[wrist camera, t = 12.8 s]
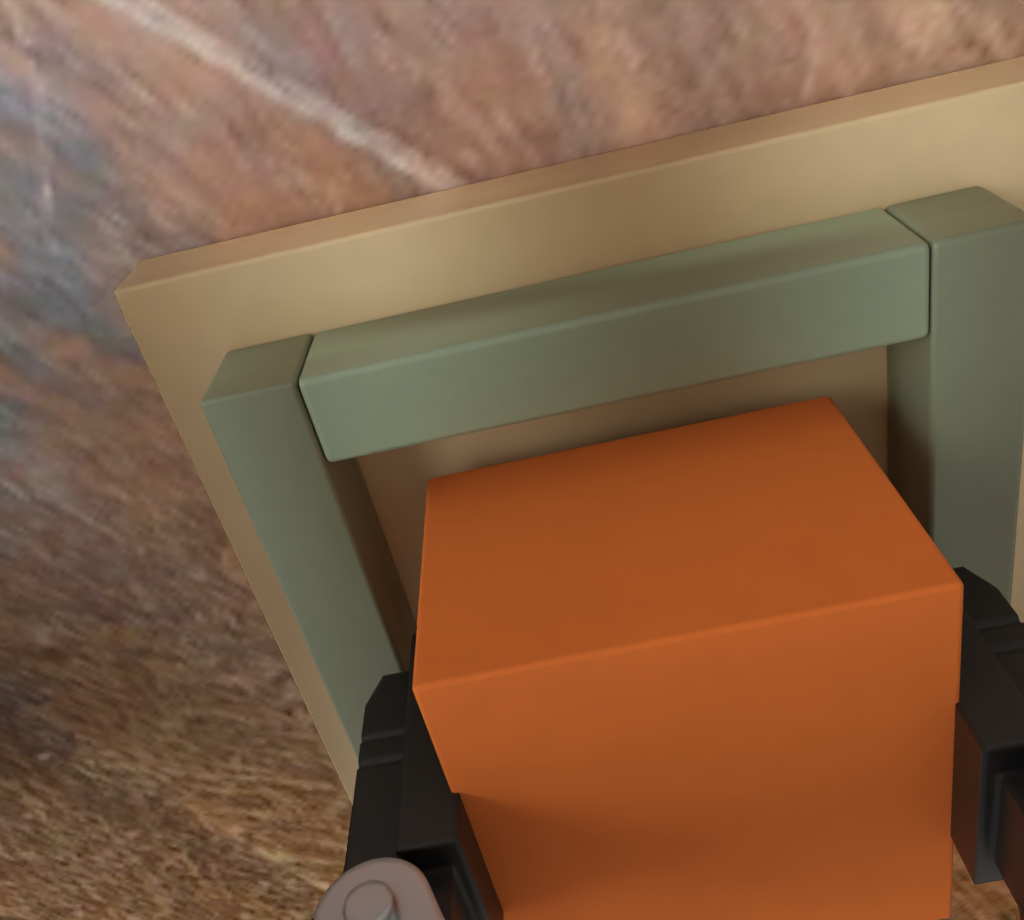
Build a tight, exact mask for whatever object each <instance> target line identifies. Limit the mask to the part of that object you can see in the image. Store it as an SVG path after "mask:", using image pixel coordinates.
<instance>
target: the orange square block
mask: <svg viewBox="0 0 1024 920" xmlns="http://www.w3.org/2000/svg"><path fill="white" fill-rule="evenodd" d="M963 591H964V585H963V583H962V581H961V580H960V578H959V577H958V576H957V574H956V573H955V571H954V570H953V569H952V567H951V566H950V564H949V563H948V562H947V560H946V559H945V557H944V556H943V555H942V553H941V552H940V550H939V549H938V548H937V546H936V545H935V543H934V542H933V541H932V539H931V538H930V536H929V535H928V534H927V532H926V531H925V529H924V528H923V527H922V525H921V524H920V522H919V521H918V520H917V518H916V517H915V515H914V514H913V513H912V511H911V510H910V508H909V507H908V506H907V504H906V503H905V501H904V500H903V499H902V497H901V496H900V494H899V493H898V492H897V490H896V489H895V487H894V486H893V484H892V483H891V482H890V480H889V479H888V477H887V476H886V475H885V473H884V472H883V470H882V469H881V468H880V466H879V465H878V463H877V462H876V461H875V459H874V458H873V456H872V455H871V454H870V452H869V451H868V449H867V448H866V447H865V445H864V444H863V442H862V441H861V440H860V438H859V437H858V435H857V434H856V433H855V431H854V430H853V428H852V427H851V426H850V424H849V423H848V421H847V420H846V419H845V417H844V416H843V414H842V413H841V412H840V410H839V409H838V407H837V406H836V405H835V403H834V402H833V400H832V399H831V398H830V397H827V396H825V397H820V398H815V399H811V400H806V401H801V402H796V403H791V404H787V405H782V406H777V407H772V408H767V409H762V410H758V411H753V412H748V413H743V414H738V415H734V416H729V417H724V418H719V419H714V420H709V421H705V422H700V423H695V424H690V425H685V426H681V427H676V428H671V429H666V430H661V431H656V432H652V433H647V434H642V435H637V436H632V437H628V438H623V439H618V440H613V441H608V442H603V443H599V444H594V445H589V446H584V447H579V448H575V449H570V450H565V451H560V452H555V453H550V454H546V455H541V456H536V457H531V458H526V459H522V460H517V461H512V462H507V463H502V464H497V465H493V466H488V467H483V468H478V469H473V470H469V471H464V472H459V473H454V474H449V475H444V476H440V477H435V478H431V479H429V480H428V483H427V496H426V510H425V523H424V537H423V550H422V564H421V578H420V591H419V605H418V619H417V632H416V646H415V659H414V673H413V687H412V690H413V692H414V695H415V698H416V700H417V703H418V705H419V708H420V711H421V713H422V716H423V719H424V721H425V724H426V727H427V729H428V732H429V734H430V737H431V740H432V742H433V745H434V748H435V750H436V753H437V756H438V758H439V761H440V763H441V766H442V769H443V771H444V774H445V777H446V779H447V782H448V785H449V787H450V790H451V792H452V793H460V796H461V799H462V802H463V804H464V807H465V810H466V812H467V815H468V818H469V820H470V823H471V826H472V828H473V831H474V834H475V837H476V839H477V842H478V845H479V847H480V850H481V853H482V855H483V858H484V861H485V863H486V866H487V869H488V872H489V874H490V877H491V880H492V882H493V885H494V888H495V890H496V893H497V896H498V898H499V901H500V904H501V907H502V909H503V917H504V920H937V919H943V918H947V917H949V916H950V915H951V890H952V865H953V840H952V839H951V837H950V833H951V807H952V781H953V755H954V729H955V704H956V703H958V702H959V691H960V666H961V641H962V616H963Z"/></svg>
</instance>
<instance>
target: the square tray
mask: <svg viewBox="0 0 1024 920" xmlns="http://www.w3.org/2000/svg"><path fill="white" fill-rule="evenodd" d="M114 294H115V297H116V299H117V301H118V303H119V305H120V307H121V310H122V312H123V314H124V316H125V318H126V320H127V323H128V325H129V327H130V329H131V331H132V333H133V335H134V338H135V340H136V342H137V344H138V346H139V348H140V350H141V353H142V355H143V357H144V359H145V361H146V363H147V365H148V368H149V370H150V372H151V374H152V376H153V378H154V381H155V383H156V385H157V387H158V389H159V391H160V393H161V396H162V398H163V400H164V402H165V404H166V406H167V408H168V411H169V413H170V415H171V417H172V419H173V421H174V423H175V426H176V428H177V430H178V432H179V434H180V436H181V439H182V441H183V443H184V445H185V447H186V449H187V451H188V454H189V456H190V458H191V460H192V462H193V464H194V466H195V469H196V471H197V473H198V475H199V477H200V479H201V481H202V484H203V486H204V488H205V490H206V492H207V494H208V497H209V499H210V501H211V503H212V505H213V507H214V509H215V512H216V514H217V516H218V518H219V520H220V522H221V524H222V527H223V529H224V531H225V533H226V535H227V537H228V539H229V542H230V544H231V546H232V548H233V550H234V552H235V554H236V557H237V559H238V561H239V563H240V565H241V567H242V570H243V572H244V574H245V576H246V578H247V580H248V582H249V585H250V587H251V589H252V591H253V593H254V595H255V597H256V600H257V602H258V604H259V606H260V608H261V610H262V612H263V615H264V617H265V619H266V621H267V623H268V625H269V628H270V630H271V632H272V634H273V636H274V638H275V640H276V643H277V645H278V647H279V649H280V651H281V653H282V655H283V658H284V660H285V662H286V664H287V666H288V668H289V670H290V673H291V675H292V677H293V679H294V681H295V683H296V686H297V688H298V690H299V692H300V694H301V696H302V698H303V701H304V703H305V705H306V707H307V709H308V711H309V713H310V716H311V718H312V720H313V722H314V724H315V726H316V728H317V731H318V733H319V735H320V737H321V739H322V741H323V744H324V746H325V748H326V750H327V752H328V754H329V756H330V759H331V761H332V763H333V765H334V767H335V769H336V771H337V774H338V776H339V778H340V780H341V782H342V784H343V786H344V789H345V791H346V793H347V795H348V797H349V799H350V802H351V804H352V805H353V797H354V790H355V782H356V774H357V769H359V765H358V758H359V751H360V743H362V738H361V735H362V727H363V719H364V712H365V705H366V704H367V702H368V700H369V699H370V697H371V695H372V694H373V692H374V690H375V688H376V687H377V685H378V683H379V682H380V680H381V678H382V677H383V676H384V675H389V674H395V673H400V672H405V671H409V666H410V653H411V641H412V636H413V633H414V632H417V619H418V605H419V591H420V578H421V564H422V550H423V537H424V523H425V510H426V496H427V483H428V480H429V479H431V478H435V477H440V476H444V475H449V474H454V473H459V472H464V471H469V470H473V469H478V468H483V467H488V466H493V465H497V464H502V463H507V462H512V461H517V460H522V459H526V458H531V457H536V456H541V455H546V454H550V453H555V452H560V451H565V450H570V449H575V448H579V447H584V446H589V445H594V444H599V443H603V442H608V441H613V440H618V439H623V438H628V437H632V436H637V435H642V434H647V433H652V432H656V431H661V430H666V429H671V428H676V427H681V426H685V425H690V424H695V423H700V422H705V421H709V420H714V419H719V418H724V417H729V416H734V415H738V414H743V413H748V412H753V411H758V410H762V409H767V408H772V407H777V406H782V405H787V404H791V403H796V402H801V401H806V400H811V399H815V398H820V397H825V396H827V397H830V398H831V399H832V400H833V402H834V403H835V405H836V406H837V407H838V409H839V410H840V412H841V413H842V414H843V416H844V417H845V419H846V420H847V421H848V423H849V424H850V426H851V427H852V428H853V430H854V431H855V433H856V434H857V435H858V437H859V438H860V440H861V441H862V442H863V444H864V445H865V447H866V448H867V449H868V451H869V452H870V454H871V455H872V456H873V458H874V459H875V461H876V462H877V463H878V465H879V466H880V468H881V469H882V470H883V472H884V473H885V475H886V476H887V477H888V479H889V480H890V482H891V483H892V484H893V486H894V487H895V489H896V490H897V492H898V493H899V494H900V496H901V497H902V499H903V500H904V501H905V503H906V504H907V506H908V507H909V508H910V510H911V511H912V513H913V514H914V515H915V517H916V518H917V520H918V521H919V522H920V524H921V525H922V527H923V528H924V529H925V531H926V532H927V534H928V535H929V536H930V538H931V539H932V541H933V542H934V543H935V545H936V546H937V548H938V549H939V550H940V552H941V553H942V555H943V556H944V557H945V559H946V560H947V562H948V563H949V564H950V566H951V567H952V568H957V567H965V568H966V569H968V570H969V571H971V572H973V573H974V574H976V575H977V576H979V577H981V578H982V579H984V580H985V581H987V582H989V583H990V584H992V585H993V586H995V587H996V588H998V589H999V591H1000V592H1001V593H1002V595H1003V596H1004V597H1005V599H1006V600H1007V601H1008V603H1009V604H1010V605H1011V607H1012V608H1013V609H1014V611H1015V612H1016V613H1017V615H1018V616H1019V620H1020V622H1023V623H1024V56H1021V57H1017V58H1013V59H1008V60H1004V61H1000V62H995V63H991V64H987V65H982V66H978V67H974V68H969V69H965V70H961V71H957V72H952V73H948V74H944V75H939V76H935V77H931V78H926V79H922V80H918V81H913V82H909V83H905V84H900V85H896V86H892V87H887V88H883V89H879V90H875V91H870V92H866V93H862V94H857V95H853V96H849V97H844V98H840V99H836V100H831V101H827V102H823V103H818V104H814V105H810V106H805V107H801V108H797V109H793V110H788V111H784V112H780V113H775V114H771V115H767V116H762V117H758V118H754V119H749V120H745V121H741V122H736V123H732V124H728V125H723V126H719V127H715V128H711V129H706V130H702V131H698V132H693V133H689V134H685V135H680V136H676V137H672V138H667V139H663V140H659V141H654V142H650V143H646V144H641V145H637V146H633V147H629V148H624V149H620V150H616V151H611V152H607V153H603V154H598V155H594V156H590V157H585V158H581V159H577V160H572V161H568V162H564V163H559V164H555V165H551V166H547V167H542V168H538V169H534V170H529V171H525V172H521V173H516V174H512V175H508V176H503V177H499V178H495V179H490V180H486V181H482V182H477V183H473V184H469V185H465V186H460V187H456V188H452V189H447V190H443V191H439V192H434V193H430V194H426V195H421V196H417V197H413V198H408V199H404V200H400V201H396V202H391V203H387V204H383V205H378V206H374V207H370V208H365V209H361V210H357V211H352V212H348V213H344V214H339V215H335V216H331V217H326V218H322V219H318V220H314V221H309V222H305V223H301V224H296V225H292V226H288V227H283V228H279V229H275V230H270V231H266V232H262V233H257V234H253V235H249V236H244V237H240V238H236V239H232V240H227V241H223V242H219V243H214V244H210V245H206V246H201V247H197V248H193V249H188V250H184V251H180V252H175V253H171V254H167V255H162V256H158V257H154V258H150V259H145V260H142V261H141V262H139V263H138V265H137V266H136V267H135V268H134V269H133V270H132V271H131V272H130V273H129V275H128V276H127V277H126V278H125V279H124V280H123V281H122V282H121V284H120V285H119V286H118V287H117V288H116V289H115V290H114Z"/></svg>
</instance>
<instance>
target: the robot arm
mask: <svg viewBox="0 0 1024 920" xmlns="http://www.w3.org/2000/svg"><path fill="white" fill-rule="evenodd" d="M952 569H953V570H954V571H955V573H956V574H957V576H958V577H959V578H960V580H961V581H962V583H963V585H964V591H963V616H962V641H961V666H960V691H959V702H958V703H956V704H955V729H954V755H953V781H952V807H951V833H950V837H951V839H952V840H953V842H954V844H955V846H956V848H957V850H958V852H959V854H960V856H961V858H962V860H963V862H964V864H965V866H966V868H967V870H968V872H969V874H970V876H971V878H972V880H973V882H974V884H980V883H986V882H992V881H999V880H1004V881H1005V883H1006V884H1007V886H1008V888H1009V890H1010V892H1011V894H1012V896H1013V897H1014V899H1015V901H1016V903H1017V905H1018V906H1017V916H1016V920H1024V623H1023V622H1020V620H1019V616H1018V615H1017V613H1016V612H1015V611H1014V609H1013V608H1012V607H1011V605H1010V604H1009V603H1008V601H1007V600H1006V599H1005V597H1004V596H1003V595H1002V593H1001V592H1000V591H999V589H998V588H996V587H995V586H993V585H992V584H990V583H989V582H987V581H985V580H984V579H982V578H981V577H979V576H977V575H976V574H974V573H973V572H971V571H969V570H968V569H966V568H965V567H957V568H952ZM415 646H416V632H414V633H413V636H412V641H411V653H410V666H409V671H405V672H400V673H395V674H389V675H384V676H383V677H382V678H381V680H380V682H379V683H378V685H377V687H376V688H375V690H374V692H373V694H372V695H371V697H370V699H369V700H368V702H367V704H366V705H365V712H364V719H363V727H362V735H361V738H362V743H360V751H359V758H358V765H359V769H357V774H356V782H355V790H354V797H353V805H352V813H351V821H350V829H349V836H348V844H347V852H346V860H345V866H344V871H343V874H342V875H341V876H340V877H339V878H337V879H336V880H335V882H334V883H333V884H332V885H331V886H330V887H329V888H328V889H327V891H326V892H325V894H324V895H323V896H322V898H321V900H320V902H319V904H318V906H317V909H316V911H315V914H314V918H313V919H312V920H504V917H503V909H502V907H501V904H500V901H499V898H498V896H497V893H496V890H495V888H494V885H493V882H492V880H491V877H490V874H489V872H488V869H487V866H486V863H485V861H484V858H483V855H482V853H481V850H480V847H479V845H478V842H477V839H476V837H475V834H474V831H473V828H472V826H471V823H470V820H469V818H468V815H467V812H466V810H465V807H464V804H463V802H462V799H461V796H460V793H452V792H451V790H450V787H449V785H448V782H447V779H446V777H445V774H444V771H443V769H442V766H441V763H440V761H439V758H438V756H437V753H436V750H435V748H434V745H433V742H432V740H431V737H430V734H429V732H428V729H427V727H426V724H425V721H424V719H423V716H422V713H421V711H420V708H419V705H418V703H417V700H416V698H415V695H414V692H413V690H412V687H413V673H414V659H415Z"/></svg>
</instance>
